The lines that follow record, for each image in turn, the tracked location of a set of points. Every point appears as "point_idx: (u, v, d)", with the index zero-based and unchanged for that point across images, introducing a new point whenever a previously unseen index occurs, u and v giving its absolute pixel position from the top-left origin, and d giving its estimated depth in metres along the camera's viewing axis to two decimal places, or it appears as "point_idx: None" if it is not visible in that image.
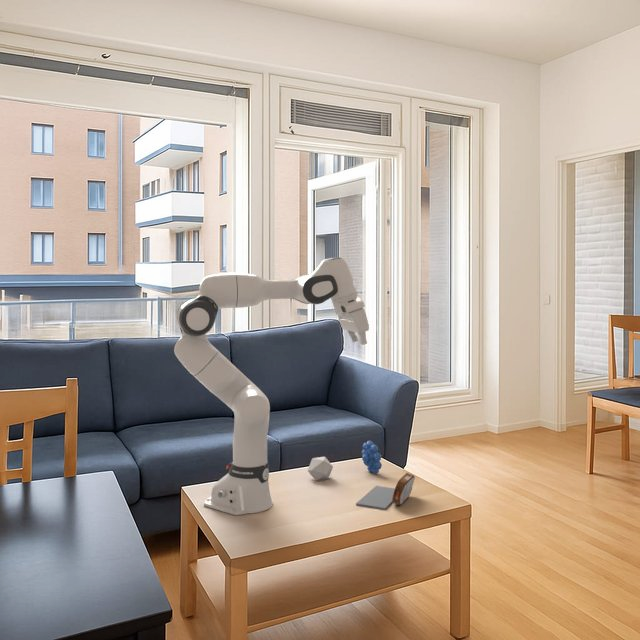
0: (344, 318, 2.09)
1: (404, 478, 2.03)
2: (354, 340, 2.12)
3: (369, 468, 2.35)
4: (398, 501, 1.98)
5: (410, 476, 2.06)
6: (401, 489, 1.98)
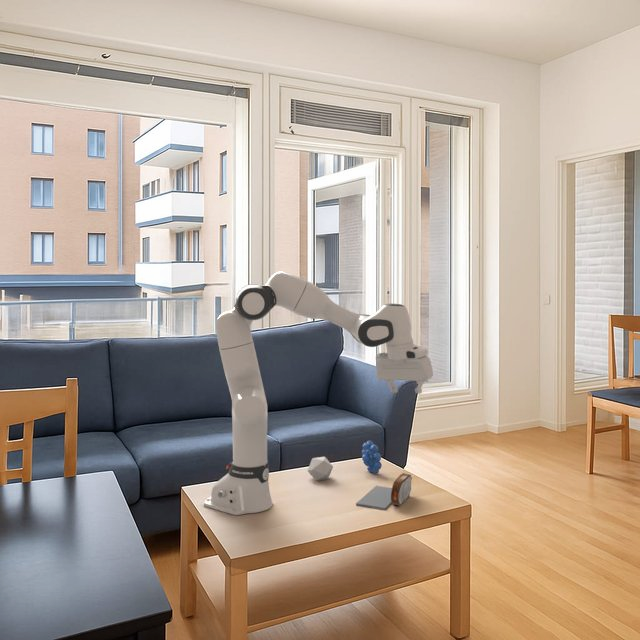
0: (392, 367, 2.05)
1: (400, 478, 2.03)
2: (395, 391, 2.07)
3: (369, 468, 2.35)
4: (397, 501, 1.99)
5: (406, 475, 2.06)
6: (398, 489, 1.98)
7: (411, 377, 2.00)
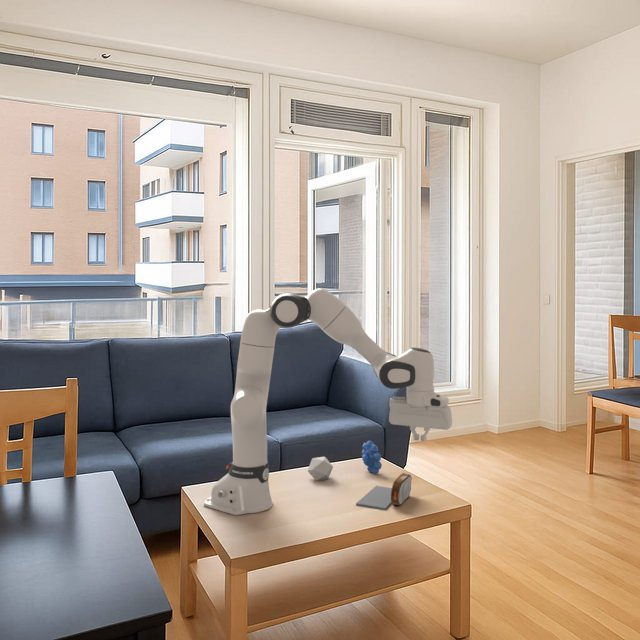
0: (409, 412, 2.00)
1: (400, 478, 2.03)
2: (418, 438, 2.01)
3: (369, 468, 2.35)
4: (397, 501, 1.99)
5: (406, 475, 2.06)
6: (398, 489, 1.99)
7: (430, 425, 1.97)
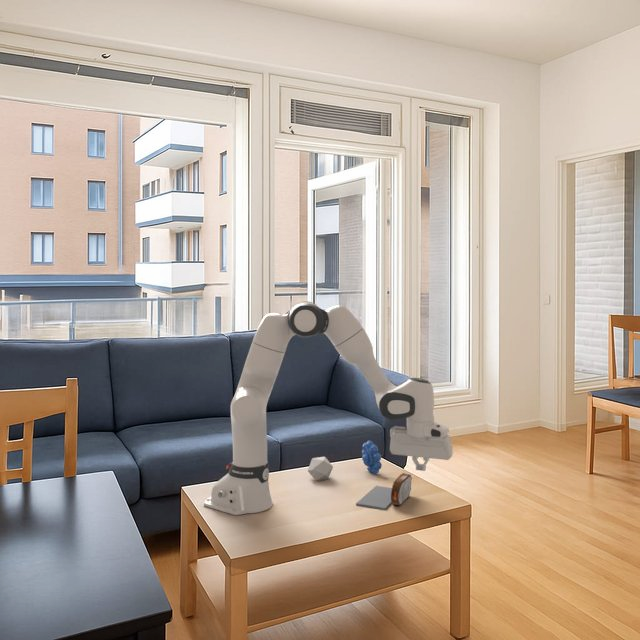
0: (410, 442, 2.01)
1: (400, 478, 2.03)
2: None
3: (369, 468, 2.35)
4: (397, 501, 1.99)
5: (406, 475, 2.06)
6: (398, 489, 1.98)
7: (431, 455, 1.98)
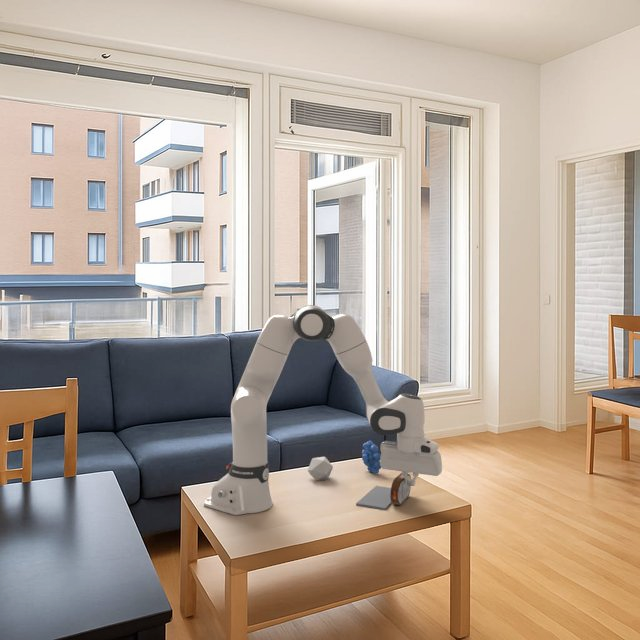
0: (400, 458, 2.03)
1: (399, 477, 2.04)
2: None
3: (369, 468, 2.35)
4: (396, 501, 1.99)
5: None
6: (397, 488, 1.99)
7: (420, 471, 2.00)
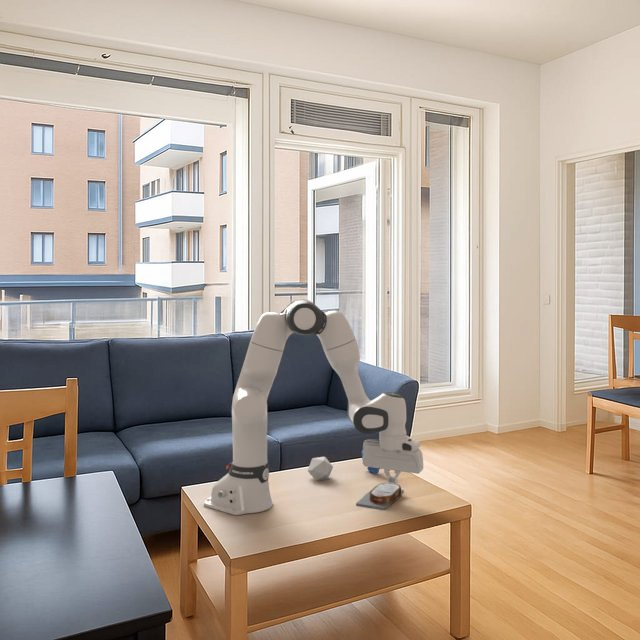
0: (382, 455, 2.05)
1: None
2: None
3: (369, 468, 2.35)
4: (383, 497, 2.01)
5: None
6: (372, 496, 2.03)
7: (402, 468, 2.02)
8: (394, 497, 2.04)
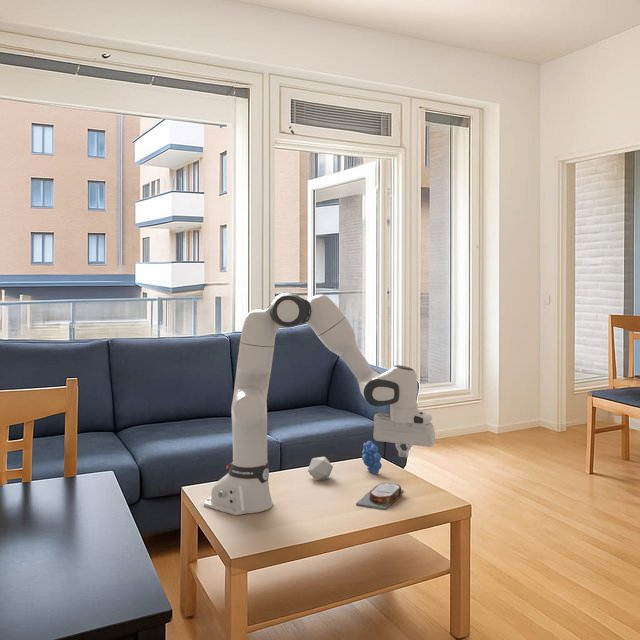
0: (393, 429, 2.03)
1: None
2: None
3: (369, 468, 2.35)
4: (383, 497, 2.01)
5: None
6: (372, 496, 2.03)
7: (413, 442, 2.00)
8: (394, 497, 2.04)
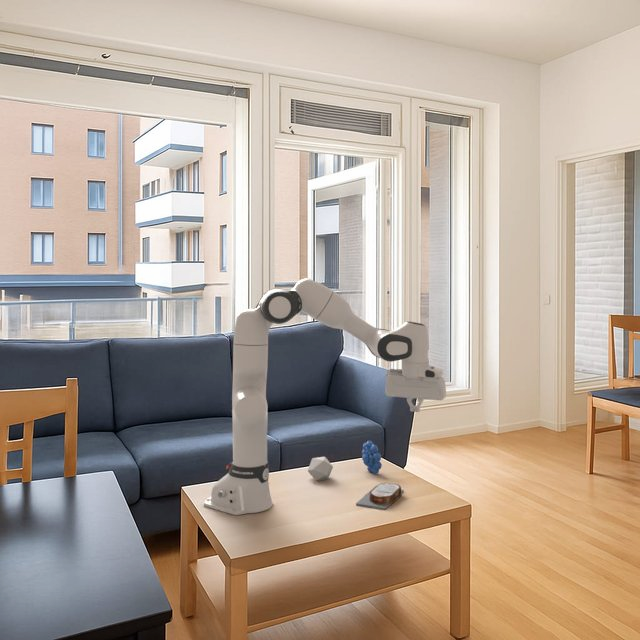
0: (405, 384, 2.07)
1: None
2: None
3: (369, 468, 2.35)
4: (383, 497, 2.01)
5: None
6: (372, 496, 2.03)
7: (425, 396, 2.04)
8: (394, 497, 2.04)
